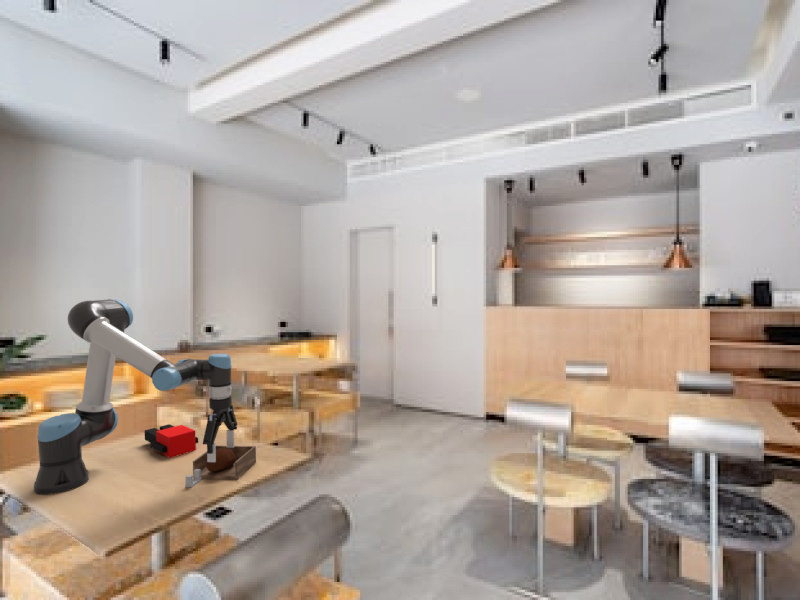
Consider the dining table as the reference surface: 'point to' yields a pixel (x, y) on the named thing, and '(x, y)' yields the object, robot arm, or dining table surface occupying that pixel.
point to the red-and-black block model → (172, 439)
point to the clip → (190, 481)
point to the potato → (222, 460)
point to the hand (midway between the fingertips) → (221, 454)
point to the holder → (234, 472)
